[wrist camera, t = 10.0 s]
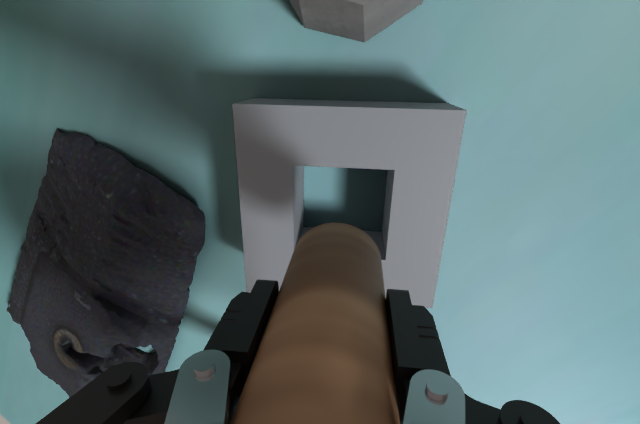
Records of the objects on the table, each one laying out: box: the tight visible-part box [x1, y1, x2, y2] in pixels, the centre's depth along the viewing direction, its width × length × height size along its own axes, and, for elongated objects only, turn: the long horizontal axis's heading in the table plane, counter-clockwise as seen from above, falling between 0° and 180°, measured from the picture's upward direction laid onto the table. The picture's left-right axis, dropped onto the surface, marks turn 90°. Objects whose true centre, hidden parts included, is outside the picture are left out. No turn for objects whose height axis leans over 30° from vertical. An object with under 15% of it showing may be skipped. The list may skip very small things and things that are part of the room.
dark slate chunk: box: [7, 129, 205, 397], centre depth 27 cm, size 15×22×5 cm
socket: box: [232, 98, 467, 308], centre depth 22 cm, size 12×12×4 cm
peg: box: [230, 223, 400, 424], centre depth 11 cm, size 4×4×10 cm
